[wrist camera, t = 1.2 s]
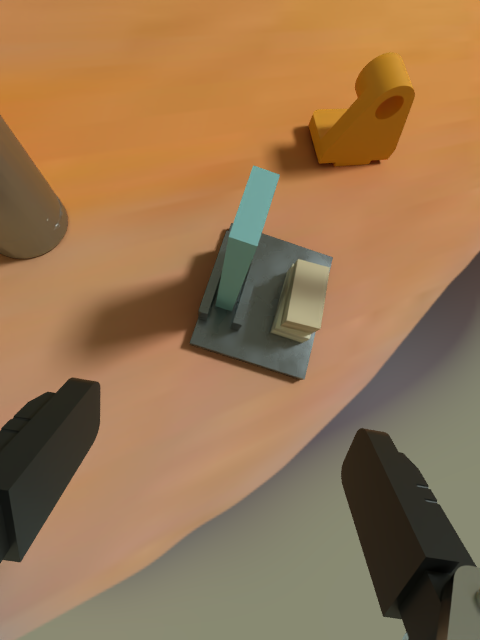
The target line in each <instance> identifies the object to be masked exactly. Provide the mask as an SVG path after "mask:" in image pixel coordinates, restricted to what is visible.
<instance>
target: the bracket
mask: <svg viewBox="0 0 480 640" xmlns="http://www.w3.org/2000/svg"><path fill="white" fill-rule="evenodd" d="M355 90H356V94H357V97H358V99H357V100H356V101H355V102H354V103H353V104H352V105H351V106H350V108H349V109H322V110H316V111H314V113H313V116H312V118H311V120H310V123H309V129H310V133H311V137H312V140H313V144H314V148H315V151H316V155H317V158H318V162H319V164H320V163H333V166H348V165H364V164H369V163H370V162H371V160H386V159H388V158H389V157H390V155H391V154H392V153H393V152H394V150H395V149H396V146H397V143H398V141H399V138H400V135H401V133H402V130H403V127H404V125H405V122H406V119H407V116H408V114H409V111H410V108H411V106H412V103H413V100H414V97H415V92H414V89H413V87H412V84H411V81H410V79H409V76H408V73H407V71H406V68H405V66H404V63H403V60H402V58H401V56H400V55H399V54H397V53H385V54H382V55H380V56H378V57H376V58H375V59H373V60H372V61H371V62H369V63H368V64H367V65H366V66H365V67H364V68H363V70H362V71H361V72H360V74H359V76H358V78H357V80H356V84H355Z"/></svg>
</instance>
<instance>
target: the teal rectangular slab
mask: <svg viewBox="0 0 480 640" xmlns="http://www.w3.org/2000/svg"><path fill="white" fill-rule="evenodd" d="M279 176H280V175H279V174H276V173H273V172H270V171H268V170H265V169H262V168H259V167H256V166H253V168H252V171H251V174H250V177H249V180H248V182H247V185H246V188H245V191H244V194H243V197H242V200H241V203H240V206H239V208H238V211H237V214H236V217H235V220H234V223H233V226H232V229H231V232H230V234H229V238H228V243H227V248H226V253H225V259H224V264H223V269H222V274H221V279H220V285H219V290H218V295H217V300H216V305H215V306H217V307H220V308H223V309H226V310H229V311H232V310H233V307H234V304H235V302H236V299H237V297H238V294H239V292H240V289H241V287H242V284H243V282H244V279H245V277H246V274H247V272H248V269H249V266H250V264H251V261H252V259H253V256H254V254H255V251H256V249H257V246H258V243H259V240H260V237H261V233H262V230H263V227H264V224H265V221H266V217H267V214H268V211H269V208H270V205H271V201H272V198H273V195H274V192H275V189H276V185H277V182H278V179H279Z"/></svg>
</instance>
